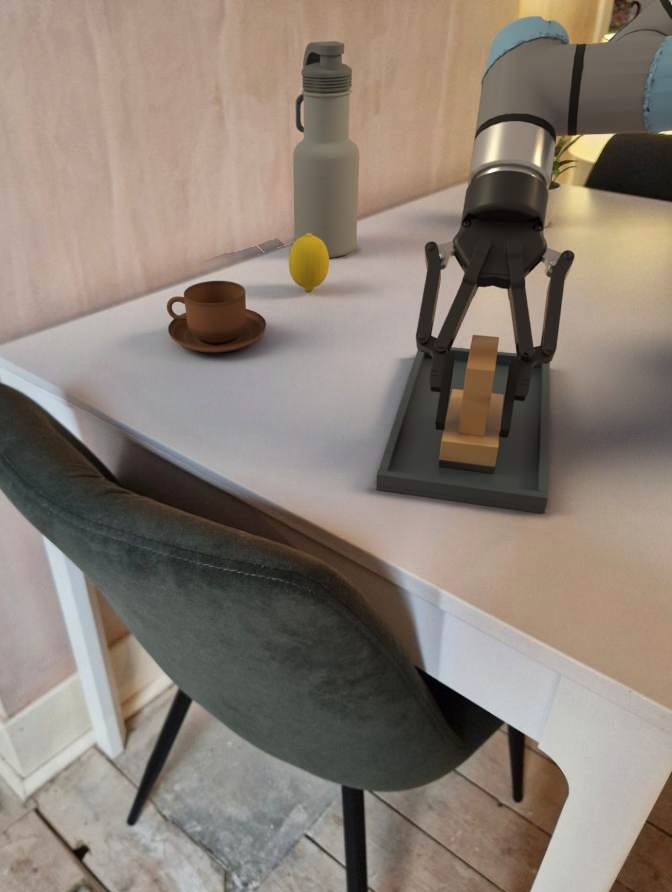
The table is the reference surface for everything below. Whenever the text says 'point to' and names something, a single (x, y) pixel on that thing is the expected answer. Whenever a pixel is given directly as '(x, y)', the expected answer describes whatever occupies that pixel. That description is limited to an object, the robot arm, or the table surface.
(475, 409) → the wooden block on base
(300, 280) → the lemon
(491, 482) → the tray
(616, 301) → the table surface
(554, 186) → the house plant
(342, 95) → the water bottle
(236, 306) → the cup and saucer
